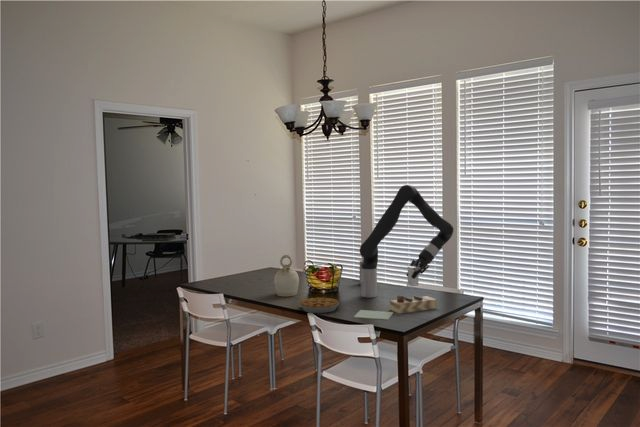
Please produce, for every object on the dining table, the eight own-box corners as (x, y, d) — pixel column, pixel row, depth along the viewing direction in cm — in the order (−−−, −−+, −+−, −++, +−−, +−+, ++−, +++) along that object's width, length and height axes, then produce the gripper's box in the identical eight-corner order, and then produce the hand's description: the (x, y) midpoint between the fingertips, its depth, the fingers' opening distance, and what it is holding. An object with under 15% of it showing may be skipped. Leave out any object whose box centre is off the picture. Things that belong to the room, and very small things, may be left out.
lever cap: (412, 286, 273) (412, 267, 272) (407, 284, 277) (407, 266, 276) (418, 285, 274) (418, 267, 274) (413, 283, 278) (413, 265, 278)
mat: (353, 317, 261) (353, 316, 261) (360, 310, 275) (360, 310, 275) (388, 319, 256) (388, 319, 256) (393, 312, 269) (393, 312, 269)
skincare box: (362, 285, 340) (362, 262, 339) (359, 283, 347) (358, 260, 346) (374, 284, 343) (374, 261, 342) (370, 282, 349) (370, 259, 348)
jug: (295, 297, 308) (295, 257, 307) (271, 297, 311) (270, 256, 310) (301, 292, 323) (301, 253, 322) (278, 291, 326) (277, 253, 325)
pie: (337, 303, 292) (337, 295, 292) (340, 313, 270) (340, 304, 270) (300, 304, 291) (299, 296, 291) (299, 314, 270) (299, 305, 269)
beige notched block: (398, 313, 268) (398, 298, 267) (390, 309, 276) (389, 295, 275) (436, 308, 277) (436, 293, 276) (427, 304, 285) (427, 290, 285)
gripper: (417, 247, 284) (398, 270, 280) (432, 250, 271) (413, 274, 267) (425, 256, 286) (407, 279, 282) (440, 259, 273) (421, 283, 269)
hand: (410, 276), depth 275 cm, fingers closed on lever cap, 4 cm apart
